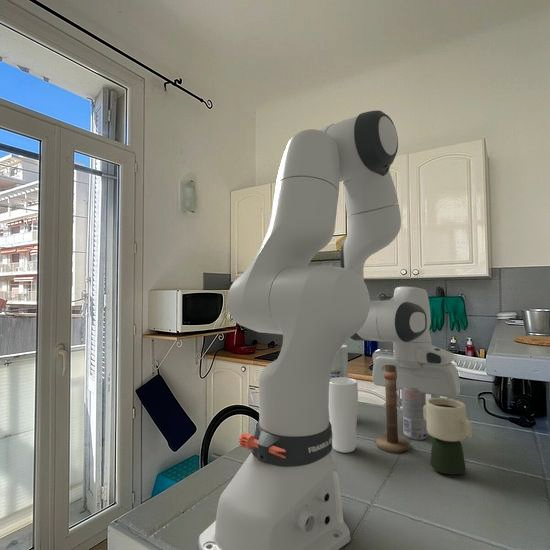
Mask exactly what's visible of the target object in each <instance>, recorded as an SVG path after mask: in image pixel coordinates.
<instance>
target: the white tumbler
mask: <svg viewBox="0 0 550 550" xmlns="http://www.w3.org/2000/svg"><path fill="white" fill-rule="evenodd" d="M358 405H359V387H358V380H357V379H355V378H352V377H348V378H345V377H336V378H331V379H330V382H329V417H330V420H329V422H330V423H331V426H332V432H333V439H332V450H334V451H336V452H339V453H345V454H346V453H347V454H348V453H351V452H354V451H355V450H356V448H357V441H356V439H357V421H358V408H359V407H358Z"/></svg>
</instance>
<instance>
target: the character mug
mask: <svg viewBox="0 0 550 550" xmlns="http://www.w3.org/2000/svg"><path fill="white" fill-rule="evenodd" d="M423 414H424V419H425V420H426V421H427V434H428V435H429V436H430V437H432V443H431V452H430V466H431V468H432V469H433V470H435V471H437V472H439V473H442V474H447V475H458V474H463V473H464V474H465V473H467V468H466V461H465V456H464V455H465V454H464V449H463V445H462V442H461V441H463V440H465V439H466V438H468V439H471V438H472V437H473V423H472V421H471V419H468V417H467V416H468V415H467V407H466V404H465V403H464V402H463V401H460V400H457V399H455V398H449V397H440V398H431V397H430V398H426V405H424V407H423Z"/></svg>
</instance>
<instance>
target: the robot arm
mask: <svg viewBox="0 0 550 550" xmlns="http://www.w3.org/2000/svg"><path fill="white" fill-rule="evenodd" d="M398 149H399V137H398V132H397V129H396V125H395V123H394V121H393V120H392V119H391V118H390V116H389V115H387V114H386V113H385V112H384V111H382V110H370V111H365V112H362V113H359V114H358V115H357V116H354V117H350V118H347V119H344V120H341V121H338V122H335V123H332V124H329V125H327V126H325V127H323V128H320V130H319V129H316V128H315V129H314V128H313V129H312V128H311V129H310V128H309V129H304V130H300V131H298V132H296V133H295V134H294V135H293V136H292V137H291V138H290V139H289V141H288V142H287V145H286V148H285V150H284V151H283V155H282V158H281V161H280V166H279V168H278V173H277V177H276V181H275V182H276V183H275V190H274V195H273V200H272V201H273V202H272V205H271V206H272V207H271V211H270V216H269V217H270V218H269V222H268V226H267V230H266V232H265V235H264V238H263V240H262V241H261V244H260V245H259V246H260V247H259V248H258V251H257V252H256V254H255V255H254V258H253V259H252V261H251V262H250V264H249V265H248V267H247V268H246V269H245V271H244V272H243V273H242V274H241V275H239V277H237V278H236V279H235V280H234V281H233V282H232V283H231V285H230V288H229V290H228V292H227V293H228V294H227V309H228V312H229V315H230V316H231V318H232V320H233V321H234V322H235V323H236V324H237V325H239V326H241V327H244V328H246V329H249V330H252V331H253V332H257V333H260V334H261V333H263V334H264V333H265V334H272V335H282V344H281V348H280V352H279V355H278V357H277V359H274V360H273V361H272V362H270V363H268V364H267V365H266V366H265V367H264V368H263V369H262V370H261V373H260V374H259V378H258V405H259V407H258V410H259V411H258V412H259V413H258V414H259V415H258V417H259V419H258V422H257V424H256V427H255V430H254V435H253V434H252V435H251V434H250V433H248V432H243V433H241V434H240V437H239V438H238V445H239V446H240V447H241V448H245V449H247V450H249V451H250V454H249V455H248V457H247V458H246V459H245V460H244V462H243V464H242V465H241V466H240V468H239V469H238V471H237V472H236V474H235V475H234V476H233V477H232V479H231V481H230V482H229V483H228V485H227V486H226V488H225V489H224V490H223V492H222V493H221V494H220V497H219V500H218V503H217V508H216V517H215V520H214V521H213V522H212V523H211V524H210V525H209V526H208V527H206V529H205V530H204V531H202V532H201V534H200V535H199V537H198V550H340V549H341V548H342V547H344V546H346V545H347V544H348V543H350V541H351V531H350V529H349V526H348V525H347V524H346V522H345V521H344V514H343V505H342V495H341V487H340V484H341V483H340V477H339V474H338V471H337V469H336V466H335V464H334V461H333V458H332V454H331V451H332V450H333V447H332V439H333V432H332V426H331V423H330V420H329V382H330V374H331V369H332V366H333V363H334V360H335V358H336V355H337V354H338V352H339V350H340V348H341V347H342V345H345V344H346V342H347V341H348V340H349V339H351V340H353V341H356V342H357V341H358V342H359V341H361V342H362V341H363V342H364V341H375V342H383V343H392V344H393V345H392V346H393V349H382V348H378V349H377V350H375V351H374V352H373V353H372V362H373V364H372V365H373V367H372V375H371V376H372V379H371V380H372V382H373V385H375V386H378V387H383V388H385V378H384V370H385V365H395V366H396V371H397V379H396V390H397V391H399V390H401V391H402V390H403V388H404V386H405V387H409V388H418V390H419V392H420V393H425V394H426V395H430V398H441V397H442V398H448V399H456V397H458V396H459V395H460V393H461V385H460V377H459V372H458V369H457V367H456V366H455V364H454V363H452V362H453V361H454V354H453V352H451V351H448V350H446V349H444V348H440V347H437V346H435V345H433V344H432V336H431V333H430V327H431V325H432V320H431V319H432V318H431V317H432V316H431V307H430V301H429V300H430V299H429V296H428V292H427V290H426V289H424V288H423V287H420V286H417V285H416V286H413V285H400V286H397V287H395V288H394V291H393V297H391V298H390V299H387V300H371V297H370V292H369V290H368V287H367V286H368V285H366V282H365V277H364V266H365V264H366V261H367V259H368V258H370V257H371V256H372V255H375V254H376V253H377V252H379V251H381V250H382V249H385V248H386V247H387V246H389V245H391V243H392V242H394V241H395V240H396V237H397V236H398V235H399V233H400V231H401V227H402V216H401V208H400V205H399V199H398V195H397V194H398V193H397V190H396V185H395V183H394V180H393V177H392V174H391V171H390V168H391V165H393V163H394V160H395V159H396V156H397V153H398ZM340 182H342V184H343V195H344V203H345V209H346V215H347V224H348V225H347V234H346V237H345V238H344V239H343V241H342V242H341V245H340V255H339V257H340V266H333V265H328V264H321V265H309V264H310V262H311V261H312V259H313V258H315V256H316V255H317V254H318V253H319V252H320V251H322V250H323V249H324V248H325V247H326V246H328V245H329V244H330V242H331V240H333V237H334V234H335V232H336V231H335V229H336V223H337V222H336V221H337V213H338V212H337V210H338V204H339V192H340ZM402 407H403V405H402V397H399V395H398V394H397V408H402Z"/></svg>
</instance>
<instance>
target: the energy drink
mask: <svg viewBox="0 0 550 550" xmlns="http://www.w3.org/2000/svg"><path fill="white" fill-rule="evenodd" d="M426 396H427V394H425V393H420V392H419V390H418V388H409V387H405V386H404V388H403V390H401V399H402V430H403V433H402V434H403V435H404V436H405V437H406V438H408V439H410V440H413V441H414V440H415V441H423V440H425V439H426V438H427V437H428V431H427V421H426V420H425V419H424V414H423V407H424V405H426V401H427V397H426Z"/></svg>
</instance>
